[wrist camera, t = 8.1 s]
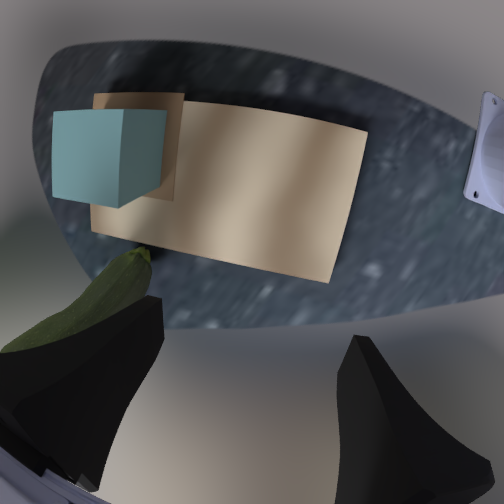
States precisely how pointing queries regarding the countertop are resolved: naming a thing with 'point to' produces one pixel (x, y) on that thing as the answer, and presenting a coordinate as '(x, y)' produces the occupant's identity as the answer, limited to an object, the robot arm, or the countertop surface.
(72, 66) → the countertop surface
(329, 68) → the countertop surface
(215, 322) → the countertop surface
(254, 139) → the maple board
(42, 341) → the vegetable
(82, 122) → the teal block
